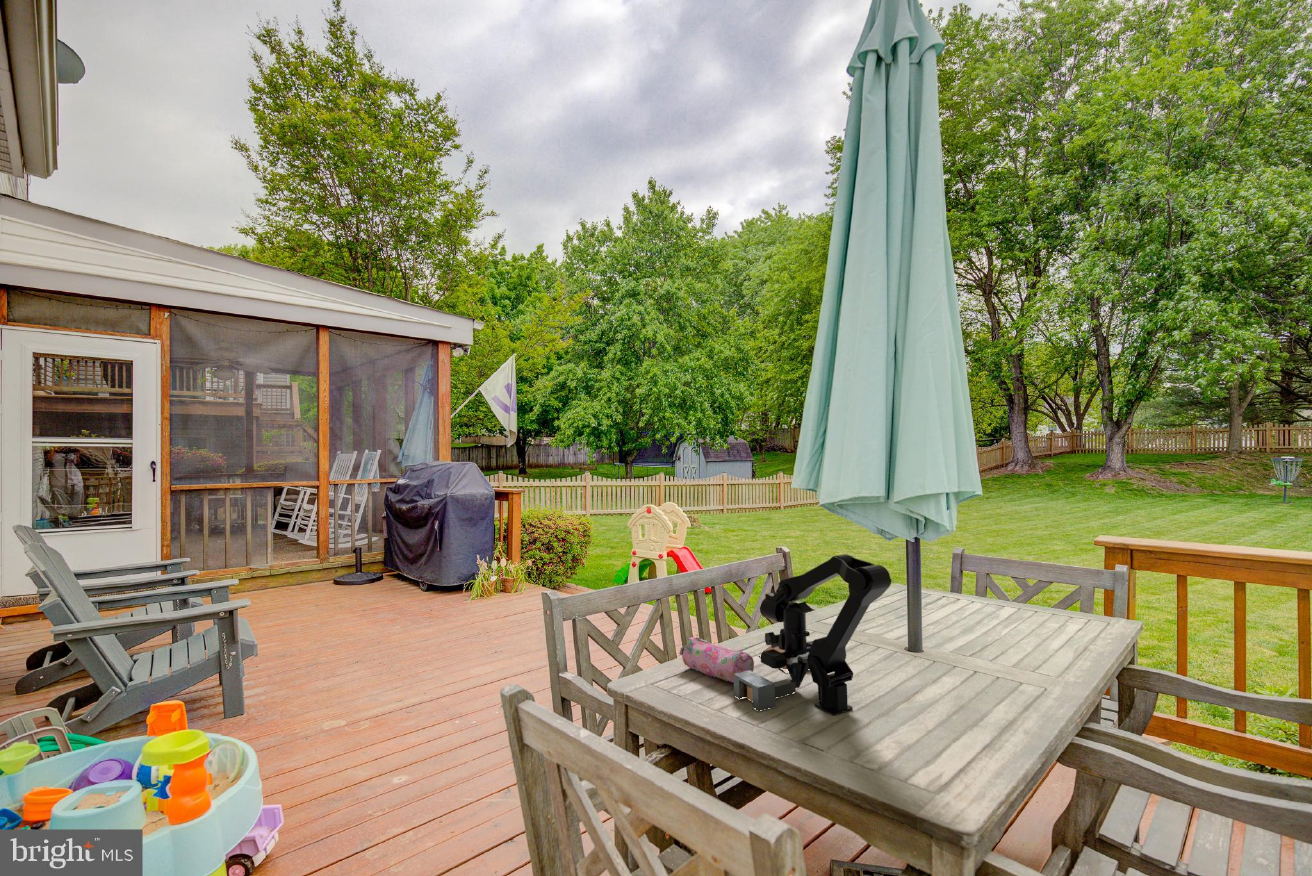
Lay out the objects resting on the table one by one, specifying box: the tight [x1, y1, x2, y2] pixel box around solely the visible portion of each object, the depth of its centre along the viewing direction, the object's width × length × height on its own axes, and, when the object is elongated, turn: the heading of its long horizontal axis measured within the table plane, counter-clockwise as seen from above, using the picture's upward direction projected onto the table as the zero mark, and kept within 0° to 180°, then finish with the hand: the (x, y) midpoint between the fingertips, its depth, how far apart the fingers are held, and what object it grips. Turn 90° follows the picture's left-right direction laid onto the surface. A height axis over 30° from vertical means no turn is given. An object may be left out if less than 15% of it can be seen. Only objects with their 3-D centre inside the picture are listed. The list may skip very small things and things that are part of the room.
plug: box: [746, 677, 797, 701], centre depth 141 cm, size 4×13×4 cm, turn 118°
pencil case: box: [679, 636, 755, 684], centre depth 156 cm, size 21×9×9 cm, turn 40°
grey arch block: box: [733, 670, 776, 712], centre depth 138 cm, size 10×5×6 cm, turn 27°
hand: (796, 687), depth 144 cm, fingers closed
